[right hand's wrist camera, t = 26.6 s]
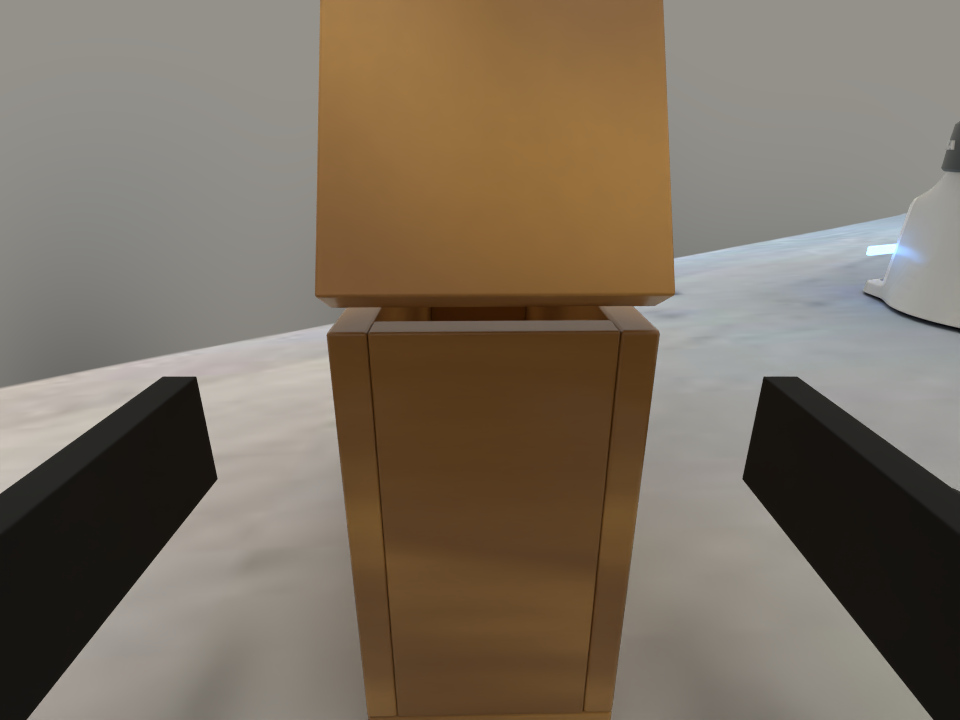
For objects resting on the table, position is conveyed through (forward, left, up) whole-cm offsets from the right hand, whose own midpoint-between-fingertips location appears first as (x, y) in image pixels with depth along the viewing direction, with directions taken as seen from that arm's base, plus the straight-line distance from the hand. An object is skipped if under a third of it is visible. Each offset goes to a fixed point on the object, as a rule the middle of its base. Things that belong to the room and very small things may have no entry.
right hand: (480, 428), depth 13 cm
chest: (+4, +2, -6) cm, 8 cm away
